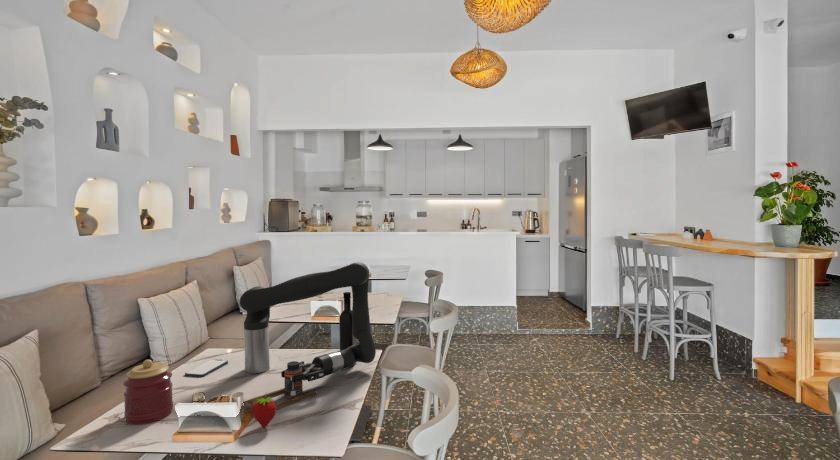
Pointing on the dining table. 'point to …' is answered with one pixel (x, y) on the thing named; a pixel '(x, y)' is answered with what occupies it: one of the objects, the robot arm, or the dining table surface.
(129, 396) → the canister
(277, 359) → the dining table surface
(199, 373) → the phone case
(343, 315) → the wine bottle
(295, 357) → the dining table surface
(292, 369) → the supplement bottle
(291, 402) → the walnut track
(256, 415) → the strawberry
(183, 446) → the dining table surface
